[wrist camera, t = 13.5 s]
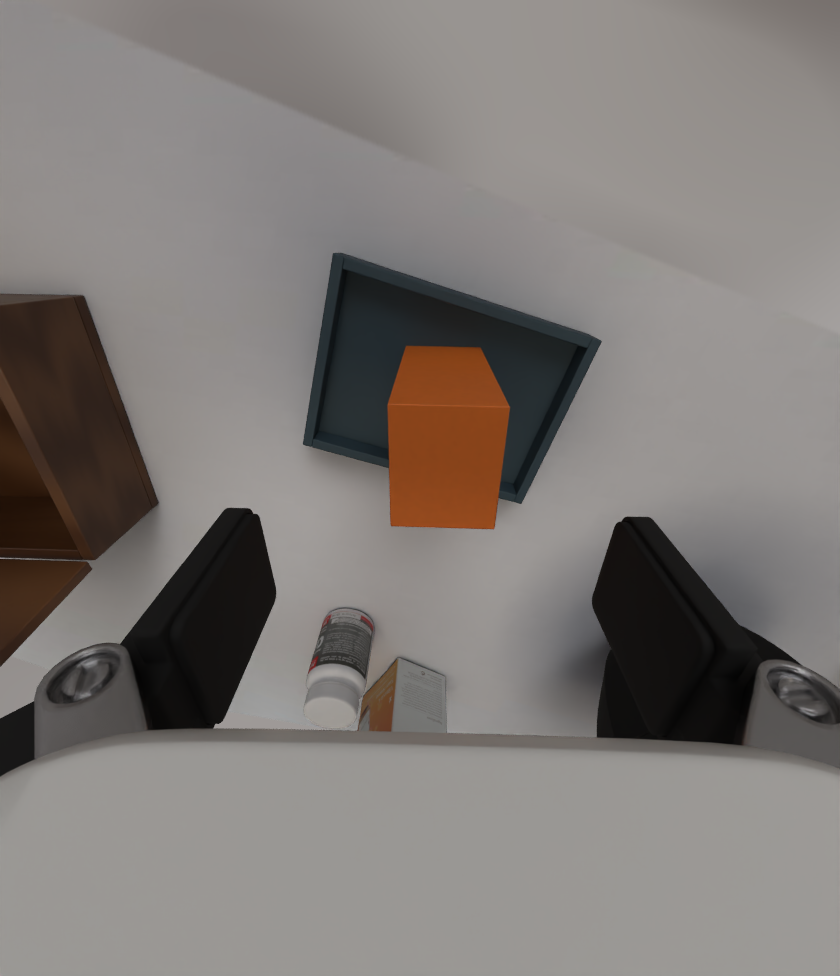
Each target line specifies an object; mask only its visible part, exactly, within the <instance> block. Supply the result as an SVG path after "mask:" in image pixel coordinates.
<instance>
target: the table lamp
mask: <svg viewBox="0 0 840 976" xmlns="http://www.w3.org/2000/svg"><path fill="white" fill-rule="evenodd" d="M739 626H740V625H739ZM740 627H741V628H742V629H743V631H744V632H745V633H746V634H747V636H748V637H749V638H750V639H751V640H752V642H753V643H754V644H755V645H756V647H757V648H758V650H757V651H756V653H757V654H758V655H759V656H760V658H761V659H762V660H763V661H764V662H765V661H767V660H778V659H779V660H784V661H789V662H793V663H796V664H798V665H801V664H800V663H798V662H797V661H796V660H795V659H793V658H792V657H791V656H789V655H788V654H787V653H785V652H784V651H783V650H781V649H780V648H778V647H777V646H775V645H774V644H772V643H771V642H769V641H767V640H766V639H764V638H763V637H761V636H759V635H757V634H756V633H754V632H752V631H750V630H748V629H746V628H744V627H742V626H740ZM801 666H802V665H801ZM597 738H626V739H649V740H658V738H657V735H652V734H651V733H650V732H649V731H648V729H647V727H646V725H645V723H644V720H643V718H642V716H641V714H640V711H639V709H638V707H637V705H636V703H635V700H634V698H633V696H632V694H631V692H630V689H629V687H628V685H627V683H626V680H625V678H624V676H623V674H622V672H621V669H620V667H619V665H618V663H617V661H616V658H615V656H614V654H613V652H612V649H611V650H610V652H609V654H608V657H607V660H606V665H605V671H604V677H603V682H602V688H601V694H600V700H599V707H598V716H597Z"/></svg>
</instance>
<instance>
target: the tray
mask: <svg viewBox="0 0 840 976" xmlns="http://www.w3.org/2000/svg"><path fill="white" fill-rule="evenodd" d="M601 342H602V341H601V340H599V339H597V338H595V337H593V336H591V335H589V334H586V333H583V332H580V331H577V330H574V329H571V328H568V327H565V326H562V325H559V324H556V323H552V322H549V321H546V320H543V319H540V318H537V317H534V316H531V315H528V314H525V313H522V312H519V311H516V310H513V309H510V308H507V307H504V306H501V305H498V304H495V303H492V302H489V301H486V300H483V299H480V298H477V297H474V296H470V295H467V294H464V293H461V292H458V291H455V290H452V289H449V288H446V287H443V286H440V285H437V284H434V283H431V282H428V281H425V280H422V279H419V278H416V277H413V276H410V275H407V274H404V273H401V272H398V271H395V270H392V269H389V268H385V267H382V266H379V265H376V264H373V263H370V262H367V261H364V260H361V259H358V258H355V257H352V256H349V255H346V254H343V253H333V258H332V264H331V270H330V277H329V283H328V289H327V296H326V302H325V308H324V314H323V321H322V327H321V333H320V340H319V346H318V352H317V358H316V365H315V371H314V377H313V384H312V390H311V396H310V403H309V409H308V415H307V421H306V428H305V434H304V440H303V445H306V446H310V447H313V448H317V449H321V450H324V451H328V452H332V453H335V454H339V455H343V456H346V457H350V458H354V459H358V460H361V461H365V462H369V463H372V464H376V465H380V466H383V467H387V468H389V443H388V402H389V398H390V395H391V392H392V389H393V386H394V382H395V379H396V376H397V373H398V370H399V366H400V363H401V360H402V357H403V354H404V350H405V347H406V346H442V347H480V348H481V350H482V352H483V354H484V356H485V358H486V360H487V362H488V364H489V366H490V368H491V370H492V372H493V374H494V376H495V378H496V380H497V382H498V384H499V386H500V388H501V390H502V392H503V394H504V396H505V398H506V400H507V402H508V404H509V406H510V412H509V419H508V427H507V435H506V443H505V450H504V458H503V466H502V473H501V481H500V489H499V497H498V498H501V499H505V500H508V501H512V502H513V501H514V502H516V503H520V504H521V503H522V501H523V499H524V497H525V495H526V493H527V491H528V489H529V487H530V485H531V483H532V481H533V479H534V477H535V475H536V473H537V471H538V469H539V467H540V465H541V463H542V461H543V459H544V457H545V455H546V453H547V451H548V449H549V447H550V445H551V443H552V441H553V439H554V437H555V435H556V433H557V431H558V429H559V427H560V425H561V423H562V421H563V419H564V417H565V415H566V413H567V411H568V409H569V407H570V405H571V403H572V401H573V399H574V397H575V394H576V392H577V390H578V388H579V386H580V384H581V382H582V380H583V378H584V376H585V374H586V372H587V370H588V368H589V366H590V364H591V362H592V360H593V358H594V356H595V354H596V352H597V350H598V348H599V346H600V344H601Z"/></svg>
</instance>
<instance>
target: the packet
mask: <svg viewBox="0 0 840 976" xmlns="http://www.w3.org/2000/svg"><path fill="white" fill-rule="evenodd" d="M509 412H510V406H509V404H508V402H507V400H506V398H505V396H504V394H503V392H502V390H501V388H500V386H499V384H498V382H497V380H496V378H495V376H494V374H493V372H492V370H491V368H490V366H489V364H488V362H487V360H486V358H485V356H484V354H483V352H482V350H481V348H480V347H442V346H406V347H405V350H404V354H403V357H402V360H401V363H400V366H399V370H398V373H397V376H396V379H395V382H394V386H393V389H392V392H391V395H390V398H389V402H388V443H389V481H390V519H391V526H405V527H438V528H471V529H494V528H495V520H496V512H497V504H498V497H499V489H500V481H501V473H502V466H503V458H504V450H505V443H506V435H507V427H508V419H509Z"/></svg>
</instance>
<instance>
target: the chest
mask: <svg viewBox="0 0 840 976" xmlns="http://www.w3.org/2000/svg"><path fill="white" fill-rule="evenodd" d="M157 504H158V501H157V498H156V495H155V493H154V490H153V487H152V484H151V482H150V479H149V476H148V473H147V470H146V468H145V465H144V462H143V459H142V457H141V454H140V451H139V448H138V446H137V443H136V440H135V437H134V434H133V432H132V429H131V426H130V423H129V421H128V418H127V415H126V412H125V410H124V407H123V404H122V401H121V398H120V396H119V393H118V390H117V387H116V385H115V382H114V379H113V376H112V373H111V371H110V368H109V365H108V362H107V360H106V357H105V354H104V351H103V349H102V346H101V343H100V340H99V337H98V335H97V332H96V329H95V326H94V324H93V321H92V318H91V315H90V312H89V310H88V307H87V304H86V301H85V299H84V296H82V295H35V294H0V557H3V558H34V559H65V560H96V559H97V558H98V557H99V556H101V555H102V554H103V553H104V552H105V551H106V550H107V549H108V548H109V547H110V546H112V545H113V544H114V543H115V542H116V541H117V540H118V539H119V538H120V537H122V536H123V535H124V534H125V533H126V532H127V531H128V530H129V529H130V528H132V527H133V526H134V525H135V524H136V523H137V522H138V521H139V520H140V519H142V518H143V517H144V516H145V515H146V514H147V513H148V512H149V511H150V510H152V508H154V507H155V506H156V505H157Z"/></svg>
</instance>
